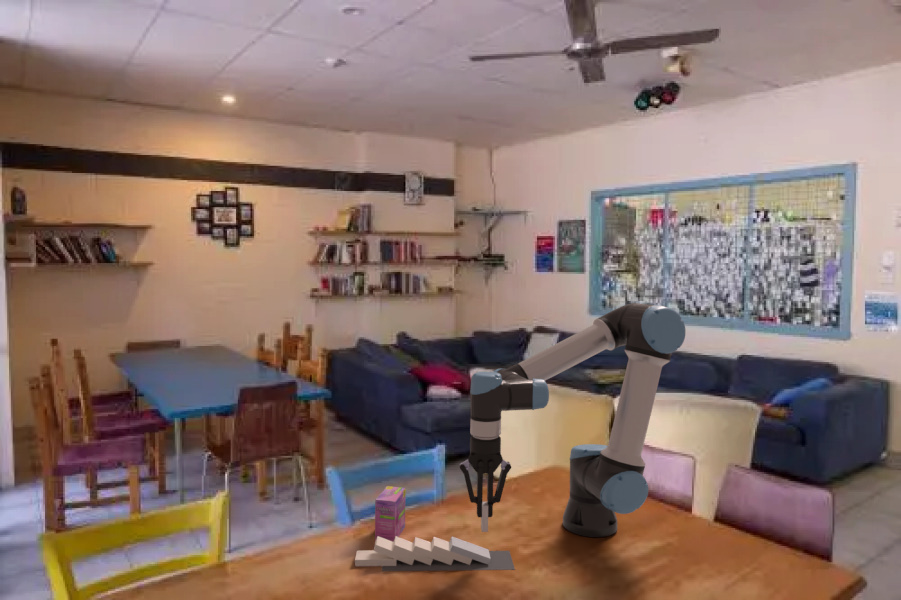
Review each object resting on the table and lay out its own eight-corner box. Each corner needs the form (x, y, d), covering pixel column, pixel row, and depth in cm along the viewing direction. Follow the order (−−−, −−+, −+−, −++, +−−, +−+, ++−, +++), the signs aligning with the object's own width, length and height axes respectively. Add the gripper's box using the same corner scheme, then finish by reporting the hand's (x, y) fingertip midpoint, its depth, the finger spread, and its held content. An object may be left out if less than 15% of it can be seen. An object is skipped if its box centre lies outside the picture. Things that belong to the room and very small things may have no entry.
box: (395, 545, 167) (395, 501, 166) (374, 543, 168) (374, 499, 167) (405, 528, 177) (406, 487, 176) (386, 527, 178) (386, 485, 177)
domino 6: (488, 549, 160) (451, 536, 159) (490, 558, 155) (452, 545, 154) (486, 555, 160) (449, 542, 159) (488, 564, 155) (450, 551, 154)
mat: (509, 552, 163) (509, 550, 162) (514, 571, 153) (514, 569, 153) (384, 554, 161) (384, 551, 161) (381, 573, 151) (381, 570, 151)
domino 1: (397, 550, 159) (357, 550, 158) (396, 559, 154) (354, 559, 153) (397, 556, 159) (357, 556, 158) (396, 565, 154) (354, 566, 153)
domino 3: (432, 550, 159) (395, 536, 159) (432, 559, 154) (394, 544, 154) (430, 555, 159) (393, 541, 159) (430, 565, 154) (392, 550, 154)
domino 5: (470, 549, 160) (433, 536, 159) (472, 559, 155) (433, 545, 154) (468, 555, 160) (431, 542, 159) (469, 565, 155) (431, 551, 154)
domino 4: (452, 549, 159) (415, 536, 159) (453, 559, 154) (415, 545, 154) (450, 555, 159) (413, 542, 159) (451, 565, 154) (412, 551, 154)
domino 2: (414, 550, 159) (377, 535, 158) (414, 559, 154) (376, 544, 153) (412, 555, 159) (375, 541, 158) (411, 565, 154) (373, 550, 153)
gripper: (509, 431, 159) (508, 523, 161) (458, 431, 159) (457, 523, 160) (514, 439, 152) (512, 535, 153) (459, 439, 151) (458, 536, 153)
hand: (484, 529), depth 157 cm, fingers closed
